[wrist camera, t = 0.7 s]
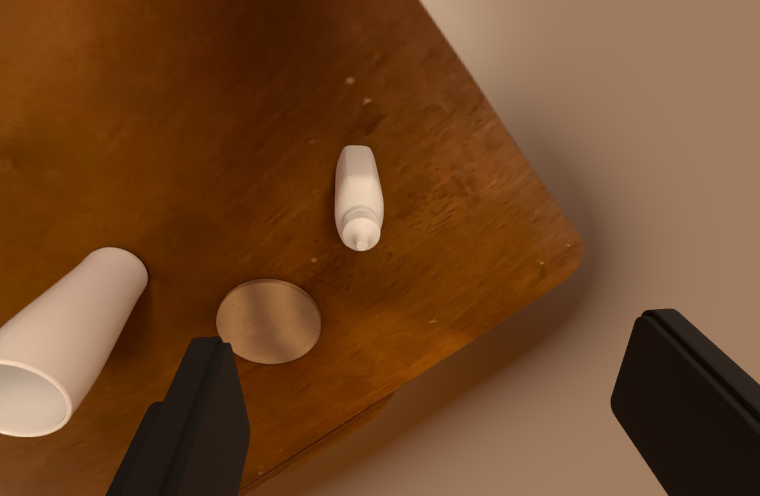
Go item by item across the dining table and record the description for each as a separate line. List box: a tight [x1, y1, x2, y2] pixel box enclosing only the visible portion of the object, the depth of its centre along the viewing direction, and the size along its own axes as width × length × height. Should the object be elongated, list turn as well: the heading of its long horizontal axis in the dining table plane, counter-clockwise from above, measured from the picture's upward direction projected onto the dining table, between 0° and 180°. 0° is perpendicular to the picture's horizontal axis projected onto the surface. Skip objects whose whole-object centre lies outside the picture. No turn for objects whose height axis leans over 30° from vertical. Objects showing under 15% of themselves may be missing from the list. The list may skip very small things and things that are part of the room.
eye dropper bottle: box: [335, 145, 384, 251], centre depth 32 cm, size 4×6×12 cm
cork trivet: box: [216, 279, 321, 364], centre depth 44 cm, size 10×10×1 cm
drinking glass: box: [0, 247, 148, 437], centre depth 34 cm, size 7×7×15 cm
